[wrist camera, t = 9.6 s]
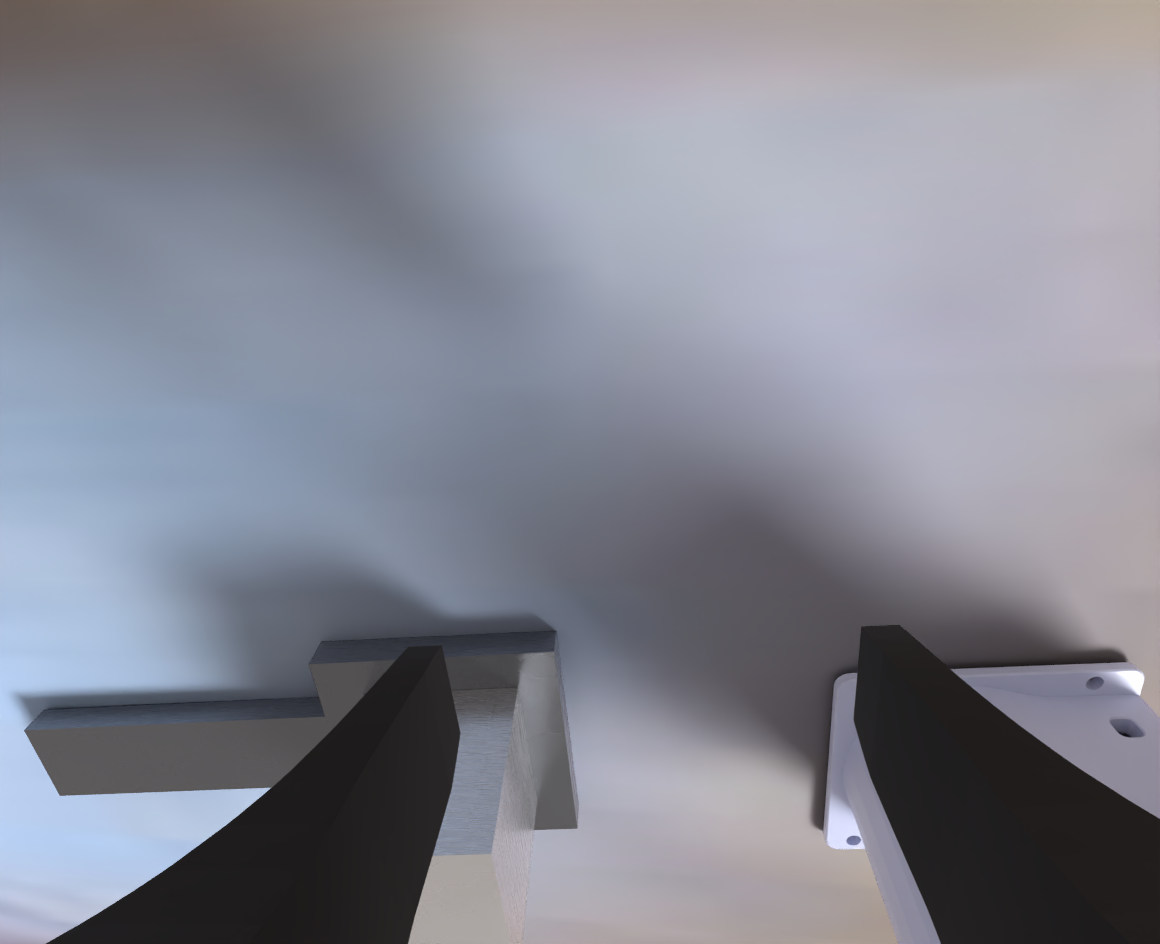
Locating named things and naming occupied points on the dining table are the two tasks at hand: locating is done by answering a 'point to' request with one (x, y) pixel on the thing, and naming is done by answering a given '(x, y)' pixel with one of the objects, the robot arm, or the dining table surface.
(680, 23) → the dining table surface
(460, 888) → the brushed metal cube
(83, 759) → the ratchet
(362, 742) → the robot arm
